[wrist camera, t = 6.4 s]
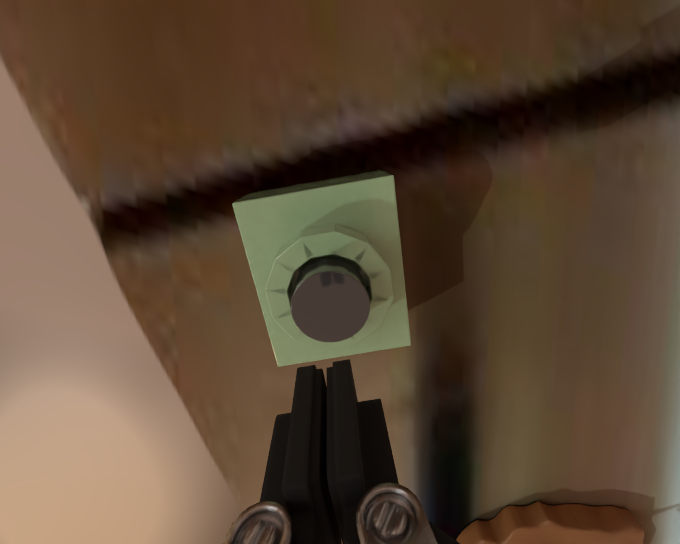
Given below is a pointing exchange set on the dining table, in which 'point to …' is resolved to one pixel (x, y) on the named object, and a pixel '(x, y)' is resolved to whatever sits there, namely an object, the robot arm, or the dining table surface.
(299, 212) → the button base
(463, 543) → the plant
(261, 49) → the dining table surface
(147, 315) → the dining table surface
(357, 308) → the dark round button cap
